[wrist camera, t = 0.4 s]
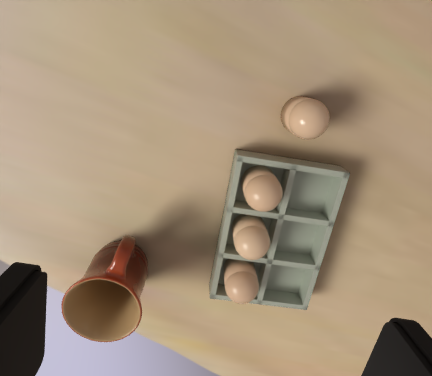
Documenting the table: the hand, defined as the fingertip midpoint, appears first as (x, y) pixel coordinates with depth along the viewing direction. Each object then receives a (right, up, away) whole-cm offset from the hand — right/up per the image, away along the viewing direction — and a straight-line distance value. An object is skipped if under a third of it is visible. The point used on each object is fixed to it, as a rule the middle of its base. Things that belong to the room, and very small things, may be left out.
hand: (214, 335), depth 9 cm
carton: (+8, -1, +36) cm, 37 cm away
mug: (-12, -5, +37) cm, 39 cm away
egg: (+10, +13, +31) cm, 35 cm away
